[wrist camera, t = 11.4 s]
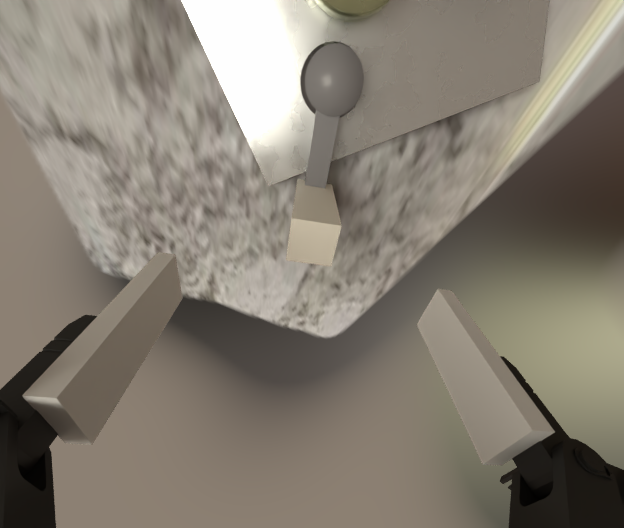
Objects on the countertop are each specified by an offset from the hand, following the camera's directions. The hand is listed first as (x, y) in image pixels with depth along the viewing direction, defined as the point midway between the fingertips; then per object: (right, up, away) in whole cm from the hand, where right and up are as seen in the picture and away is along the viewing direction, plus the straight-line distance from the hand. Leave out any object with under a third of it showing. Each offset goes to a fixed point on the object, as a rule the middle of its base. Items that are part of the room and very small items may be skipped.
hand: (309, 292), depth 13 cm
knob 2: (+1, +12, +8) cm, 14 cm away
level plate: (+3, +22, +4) cm, 23 cm away
